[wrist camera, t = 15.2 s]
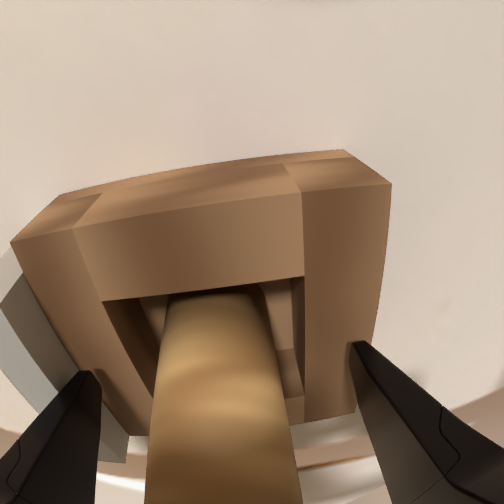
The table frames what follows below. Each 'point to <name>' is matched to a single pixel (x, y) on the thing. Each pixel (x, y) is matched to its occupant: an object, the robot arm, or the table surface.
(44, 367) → the wall
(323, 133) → the table surface
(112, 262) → the socket block
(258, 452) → the dowel
